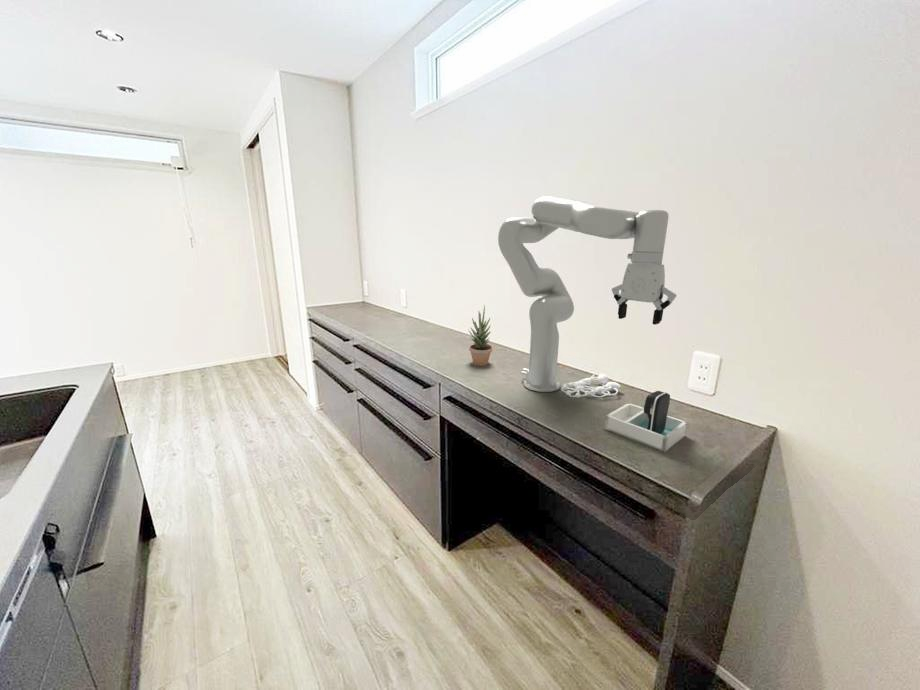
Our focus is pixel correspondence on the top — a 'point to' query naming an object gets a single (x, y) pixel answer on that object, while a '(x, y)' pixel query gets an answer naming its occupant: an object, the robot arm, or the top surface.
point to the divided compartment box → (644, 427)
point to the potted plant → (480, 342)
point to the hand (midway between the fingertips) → (638, 320)
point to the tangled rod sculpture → (599, 390)
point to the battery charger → (657, 410)
